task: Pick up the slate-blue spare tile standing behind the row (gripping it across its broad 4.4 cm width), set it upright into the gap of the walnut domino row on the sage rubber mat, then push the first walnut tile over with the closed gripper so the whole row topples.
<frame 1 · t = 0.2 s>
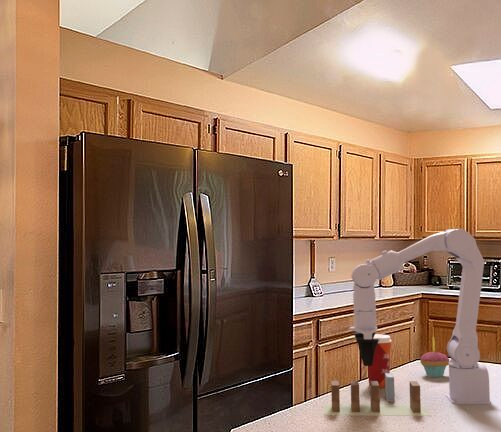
hand: (366, 362, 159), 10 cm above the counter, tool pointing down, fingers open, 7 cm apart
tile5: (335, 409, 150), resting on mat
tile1: (415, 410, 148), resting on mat
tile4: (355, 409, 149), resting on mat
paper cup: (379, 386, 173), on the counter
spare tile: (390, 400, 158), on the counter
cupcake: (435, 376, 183), on the counter
mat: (375, 410, 149), on the counter
tile3: (375, 409, 149), resting on mat
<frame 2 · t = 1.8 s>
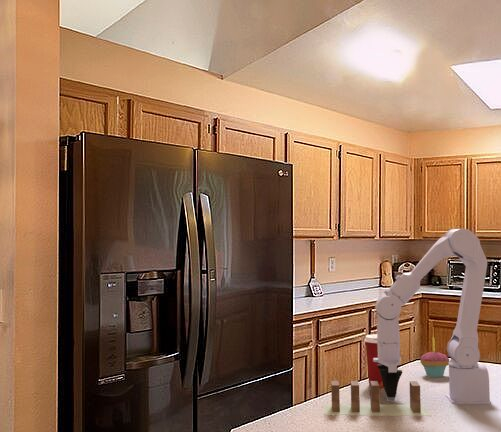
hand: (389, 394, 158), 1 cm above the counter, tool pointing down, fingers closed on spare tile, 4 cm apart
spare tile: (390, 399, 158), on the counter, touching gripper
everything else where it was.
when the fingers open (3 cm above the counter, at t = 5.2 s): spare tile drops 1 cm, resting on mat.
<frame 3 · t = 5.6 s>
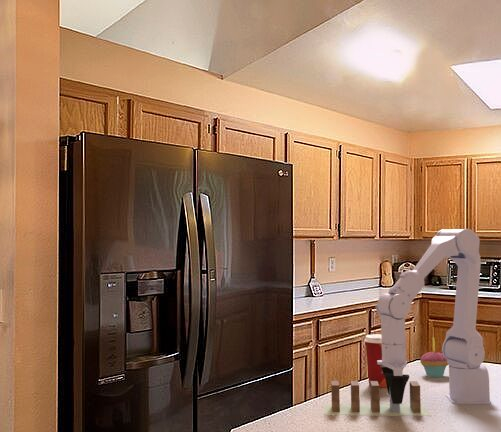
hand: (395, 399, 148), 3 cm above the counter, tool pointing down, fingers open, 7 cm apart
spare tile: (394, 409, 148), resting on mat
everything else where it was.
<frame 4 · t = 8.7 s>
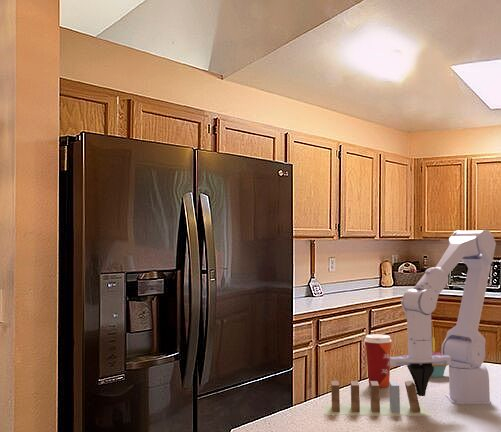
hand: (421, 395, 148), 4 cm above the counter, tool pointing down, fingers closed
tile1: (415, 409, 148), resting on mat, tilted 11°
everything else where it was.
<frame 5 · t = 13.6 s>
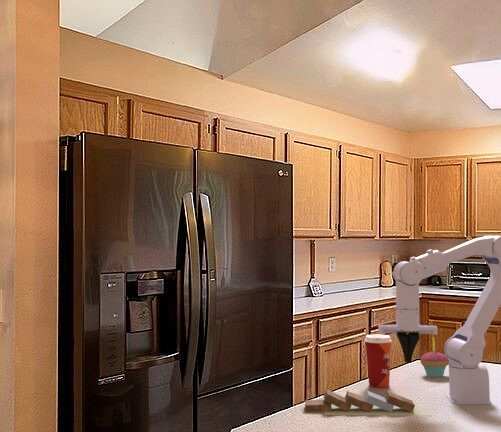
hand: (407, 362, 155), 10 cm above the counter, tool pointing down, fingers closed
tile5: (331, 405, 150), point 1 cm above the counter, tilted 94°, touching mat, tile4
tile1: (412, 406, 148), point 1 cm above the counter, tilted 68°, touching mat, spare tile
tile4: (349, 405, 149), point 1 cm above the counter, tilted 65°, touching mat, tile3, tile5
spare tile: (391, 406, 148), point 1 cm above the counter, tilted 68°, touching mat, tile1, tile3
tile3: (371, 406, 149), point 1 cm above the counter, tilted 69°, touching mat, spare tile, tile4
everything else where it was.
at the end: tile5 tilted 94°; spare tile tilted 68°; spare tile inside the target area (0.8 cm from its centre), point 1.1 cm above the counter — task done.
